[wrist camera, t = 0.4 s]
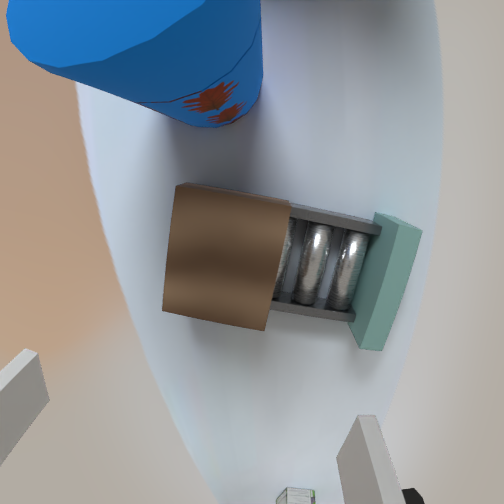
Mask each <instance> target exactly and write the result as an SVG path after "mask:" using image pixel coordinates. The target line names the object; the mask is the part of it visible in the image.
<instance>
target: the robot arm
mask: <svg viewBox="0 0 504 504" xmlns="http://www.w3.org/2000/svg"><path fill="white" fill-rule="evenodd" d="M49 400H50V399H49V396H48V392H47V388H46V385H45V381H44V377H43V373H42V368H41V364H40V360H39V355H38V353H36V352H34V351H31V350H29V349H26V348H25V349H24V350H23V351H21V352H20V353H19V354H18V355H17V356H16V357H15V358H14V359H13V360H12V361H11V362H10V363H9V364H7V366H6V367H4V368H3V369H2V370H1V371H0V466H1V465H2V463H3V462H4V460H5V459H6V458H7V456H8V455H9V453H10V452H11V451H12V449H13V448H14V447H15V445H16V444H17V443H18V441H19V440H20V438H21V437H22V436H23V434H24V433H25V432H26V430H27V429H28V428H29V426H30V425H31V424H32V422H33V421H34V420H35V419H36V417H37V416H38V415H39V413H40V412H41V411H42V409H43V408H44V407H45V406H46V404H47V403H48V402H49ZM336 459H337V464H338V469H339V474H340V480H341V485H342V491H343V496H344V502H345V504H424V501H423V498H422V497H421V495H420V494H419V493H418V492H417V491H416V490H415V489H414V488H410V489H403V490H401V487H400V484H399V481H398V478H397V476H396V472H395V469H394V467H393V464H392V461H391V458H390V455H389V452H388V449H387V446H386V444H385V441H384V438H383V435H382V433H381V430H380V427H379V424H378V422H377V419H376V416H375V415H358V416H357V418H356V420H355V422H354V424H353V426H352V428H351V430H350V432H349V434H348V436H347V438H346V440H345V442H344V444H343V446H342V448H341V449H340V451H339V453H338V455H337V457H336Z"/></svg>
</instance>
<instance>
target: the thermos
mask: <svg viewBox="0 0 504 504" xmlns="http://www.w3.org/2000/svg"><path fill="white" fill-rule="evenodd" d="M6 17H7V23H8V29H9V33H10V39H11V42H12V43H13V44H14V45H15V46H16V47H17V48H18V50H19V51H20V52H21V53H22V54H23V55H24V56H25V57H26V58H27V59H28V60H29V61H30V62H32V63H34V64H36V65H38V66H39V67H41V68H43V69H45V70H46V71H48V72H50V73H52V74H56V75H59V76H62V77H65V78H68V79H71V80H74V81H77V82H80V83H83V84H86V85H88V86H91V87H94V88H97V89H100V90H102V91H105V92H108V93H111V94H113V95H116V96H119V97H121V98H124V99H127V100H129V101H132V102H134V103H137V104H139V105H142V106H144V107H147V108H149V109H152V110H154V111H157V112H159V113H162V114H164V115H166V116H169V117H171V118H173V119H176V120H179V121H181V122H184V123H186V124H189V125H192V126H197V127H212V128H217V127H220V126H223V125H227V124H230V123H233V122H235V121H236V120H238V119H239V118H240V117H242V116H243V115H245V114H246V113H247V112H248V111H249V110H250V108H251V107H252V106H253V104H254V103H255V102H256V100H257V98H258V94H259V91H260V87H261V84H262V79H263V57H262V31H261V7H260V0H9V3H8V8H7V14H6Z"/></svg>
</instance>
